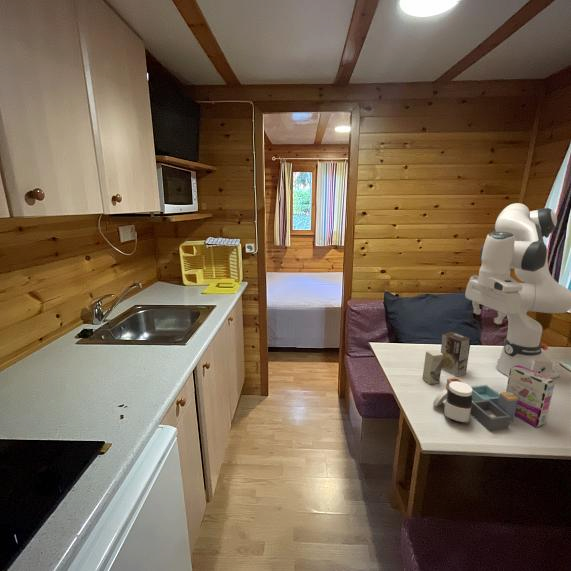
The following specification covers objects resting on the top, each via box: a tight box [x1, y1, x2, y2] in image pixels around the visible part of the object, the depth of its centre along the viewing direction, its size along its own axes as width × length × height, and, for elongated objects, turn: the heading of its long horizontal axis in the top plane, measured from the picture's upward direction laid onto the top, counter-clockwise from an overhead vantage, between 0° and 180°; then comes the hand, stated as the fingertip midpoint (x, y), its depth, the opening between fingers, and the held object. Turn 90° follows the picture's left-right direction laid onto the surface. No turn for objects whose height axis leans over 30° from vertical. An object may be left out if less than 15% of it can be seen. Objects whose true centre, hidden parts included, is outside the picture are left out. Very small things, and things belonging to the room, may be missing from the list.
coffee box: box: [440, 331, 472, 377], centre depth 133 cm, size 9×6×16 cm
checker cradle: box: [470, 400, 511, 432], centre depth 104 cm, size 7×10×4 cm
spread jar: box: [432, 381, 473, 424], centre depth 106 cm, size 12×11×12 cm
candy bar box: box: [505, 365, 556, 428], centre depth 104 cm, size 11×5×16 cm, turn 24°
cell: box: [498, 391, 518, 423], centre depth 104 cm, size 4×4×10 cm
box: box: [422, 349, 443, 385], centre depth 126 cm, size 5×4×13 cm
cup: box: [445, 377, 465, 390], centre depth 119 cm, size 4×4×5 cm
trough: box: [470, 384, 500, 406], centre depth 114 cm, size 8×8×4 cm
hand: (486, 318), depth 109 cm, fingers open, 8 cm apart
